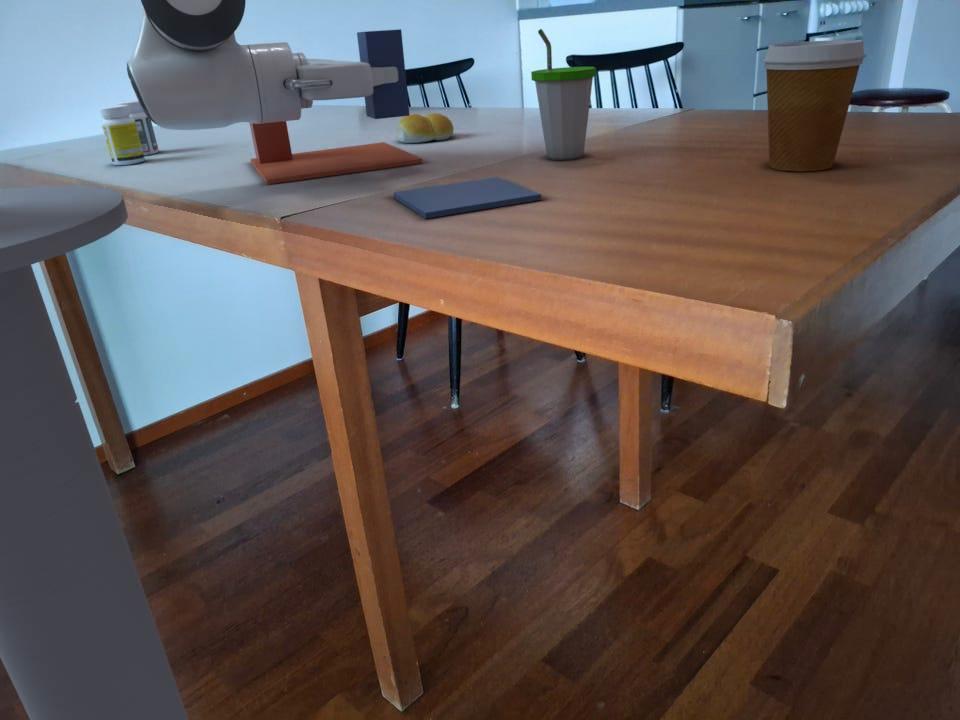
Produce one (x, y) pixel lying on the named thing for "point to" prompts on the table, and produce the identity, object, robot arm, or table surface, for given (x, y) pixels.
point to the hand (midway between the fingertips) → (390, 73)
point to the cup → (563, 106)
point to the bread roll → (424, 128)
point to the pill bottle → (142, 127)
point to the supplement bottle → (121, 135)
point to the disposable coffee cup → (809, 100)
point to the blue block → (385, 53)
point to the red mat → (334, 162)
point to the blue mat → (465, 197)
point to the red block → (271, 142)
